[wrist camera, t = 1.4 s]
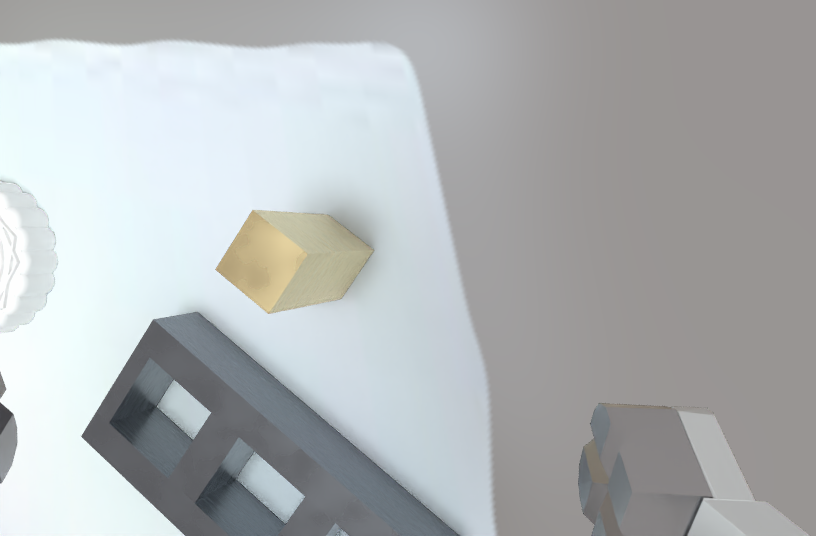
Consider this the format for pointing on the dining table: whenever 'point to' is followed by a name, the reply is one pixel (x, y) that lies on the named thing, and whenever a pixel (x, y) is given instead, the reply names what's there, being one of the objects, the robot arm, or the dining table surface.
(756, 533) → the robot arm
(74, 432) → the dining table surface
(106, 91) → the dining table surface
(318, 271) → the brass peg
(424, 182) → the dining table surface
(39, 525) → the dining table surface
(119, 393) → the grey rectangular block
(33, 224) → the mooncake
